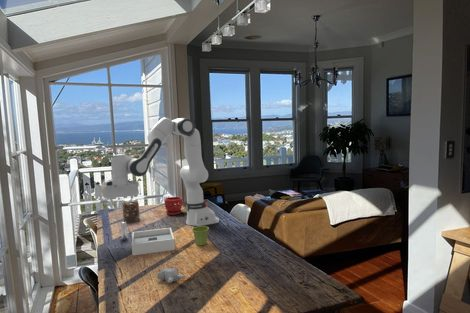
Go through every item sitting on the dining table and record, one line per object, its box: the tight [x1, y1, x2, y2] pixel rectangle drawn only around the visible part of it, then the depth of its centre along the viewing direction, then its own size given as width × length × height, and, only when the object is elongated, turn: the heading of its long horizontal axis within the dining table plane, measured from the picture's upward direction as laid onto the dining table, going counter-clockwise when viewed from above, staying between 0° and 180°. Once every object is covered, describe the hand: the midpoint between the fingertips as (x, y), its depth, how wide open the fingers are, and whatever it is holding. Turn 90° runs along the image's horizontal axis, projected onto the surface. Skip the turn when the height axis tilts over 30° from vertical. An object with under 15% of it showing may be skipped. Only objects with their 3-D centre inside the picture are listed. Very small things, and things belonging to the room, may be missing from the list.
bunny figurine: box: [156, 266, 187, 284], centre depth 152 cm, size 10×5×15 cm
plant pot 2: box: [191, 225, 210, 246], centre depth 197 cm, size 9×9×9 cm
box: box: [131, 227, 176, 256], centre depth 197 cm, size 22×22×6 cm
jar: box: [121, 197, 141, 223], centre depth 254 cm, size 12×12×15 cm
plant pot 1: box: [164, 196, 183, 216], centre depth 267 cm, size 13×13×12 cm
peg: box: [120, 221, 128, 240], centre depth 212 cm, size 3×3×10 cm
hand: (122, 204), depth 211 cm, fingers open, 8 cm apart
